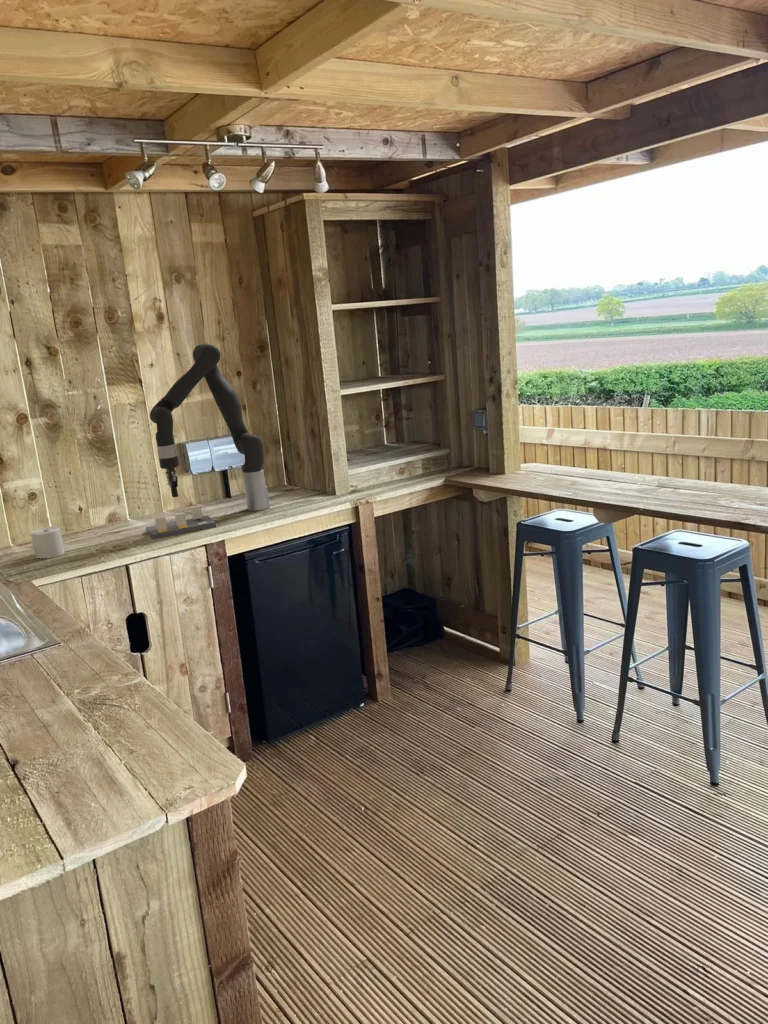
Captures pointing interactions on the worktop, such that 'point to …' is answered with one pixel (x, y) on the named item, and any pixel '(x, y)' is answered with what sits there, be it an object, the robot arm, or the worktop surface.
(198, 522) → the switch board
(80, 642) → the worktop surface
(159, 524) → the slider
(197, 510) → the slider
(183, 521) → the slider middle
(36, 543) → the toilet tissue
